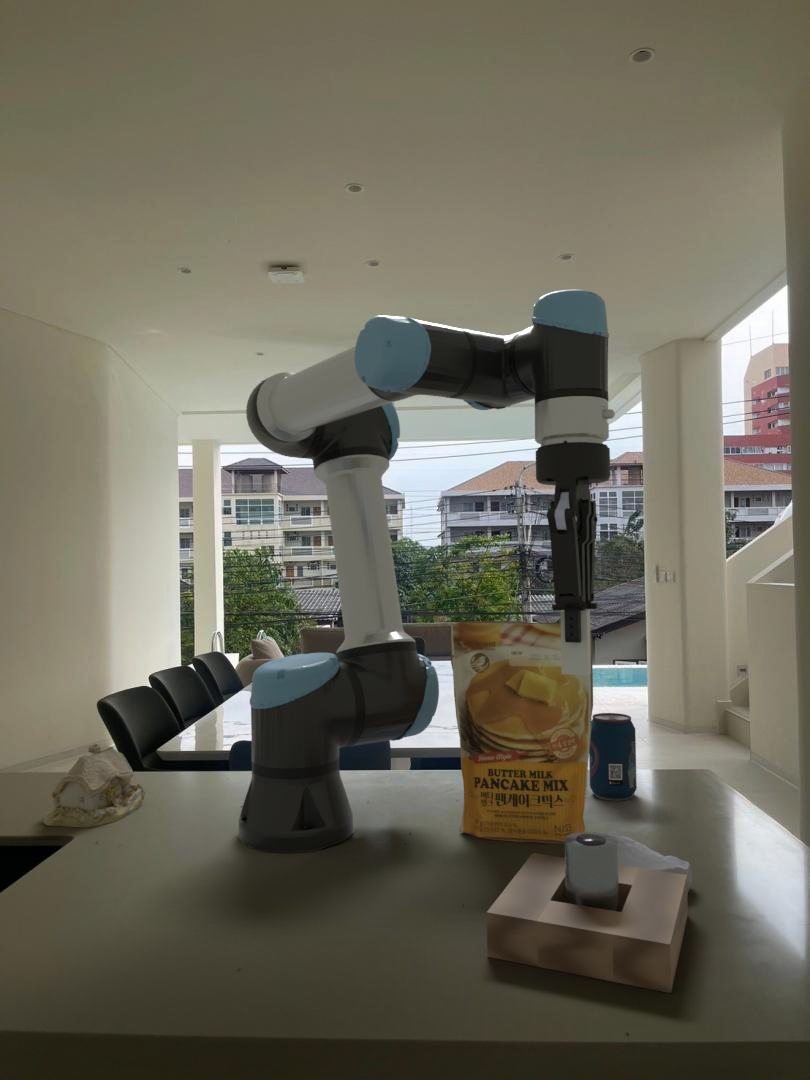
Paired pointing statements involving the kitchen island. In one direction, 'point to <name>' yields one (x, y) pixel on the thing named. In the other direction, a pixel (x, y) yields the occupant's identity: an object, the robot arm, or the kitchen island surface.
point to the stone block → (649, 858)
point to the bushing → (592, 870)
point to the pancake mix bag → (520, 731)
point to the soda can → (612, 757)
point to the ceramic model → (95, 791)
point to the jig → (592, 925)
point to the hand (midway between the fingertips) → (576, 673)
